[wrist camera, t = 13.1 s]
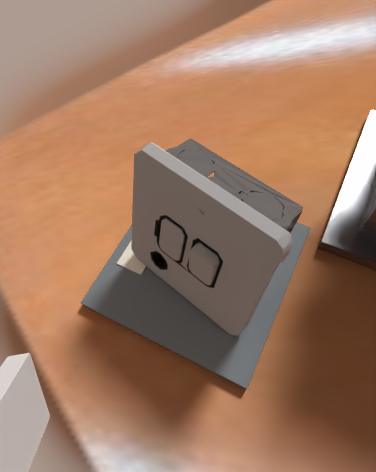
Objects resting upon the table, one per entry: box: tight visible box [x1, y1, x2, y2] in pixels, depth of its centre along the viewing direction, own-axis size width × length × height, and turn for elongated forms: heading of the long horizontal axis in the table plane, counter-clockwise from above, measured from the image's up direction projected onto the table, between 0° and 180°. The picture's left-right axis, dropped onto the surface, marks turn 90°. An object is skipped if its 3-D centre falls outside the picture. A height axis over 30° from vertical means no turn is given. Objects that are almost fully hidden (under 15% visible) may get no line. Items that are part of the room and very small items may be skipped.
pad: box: [81, 222, 310, 389], centre depth 25 cm, size 12×12×1 cm
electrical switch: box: [131, 138, 303, 336], centre depth 21 cm, size 9×5×9 cm, turn 49°
